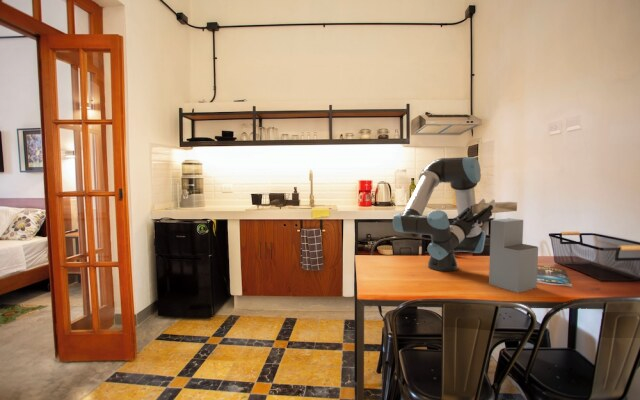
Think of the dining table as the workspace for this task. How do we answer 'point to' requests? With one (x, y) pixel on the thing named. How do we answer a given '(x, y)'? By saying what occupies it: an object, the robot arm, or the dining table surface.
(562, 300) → the dining table surface
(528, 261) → the stand
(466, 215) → the robot arm
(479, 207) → the ash rod
